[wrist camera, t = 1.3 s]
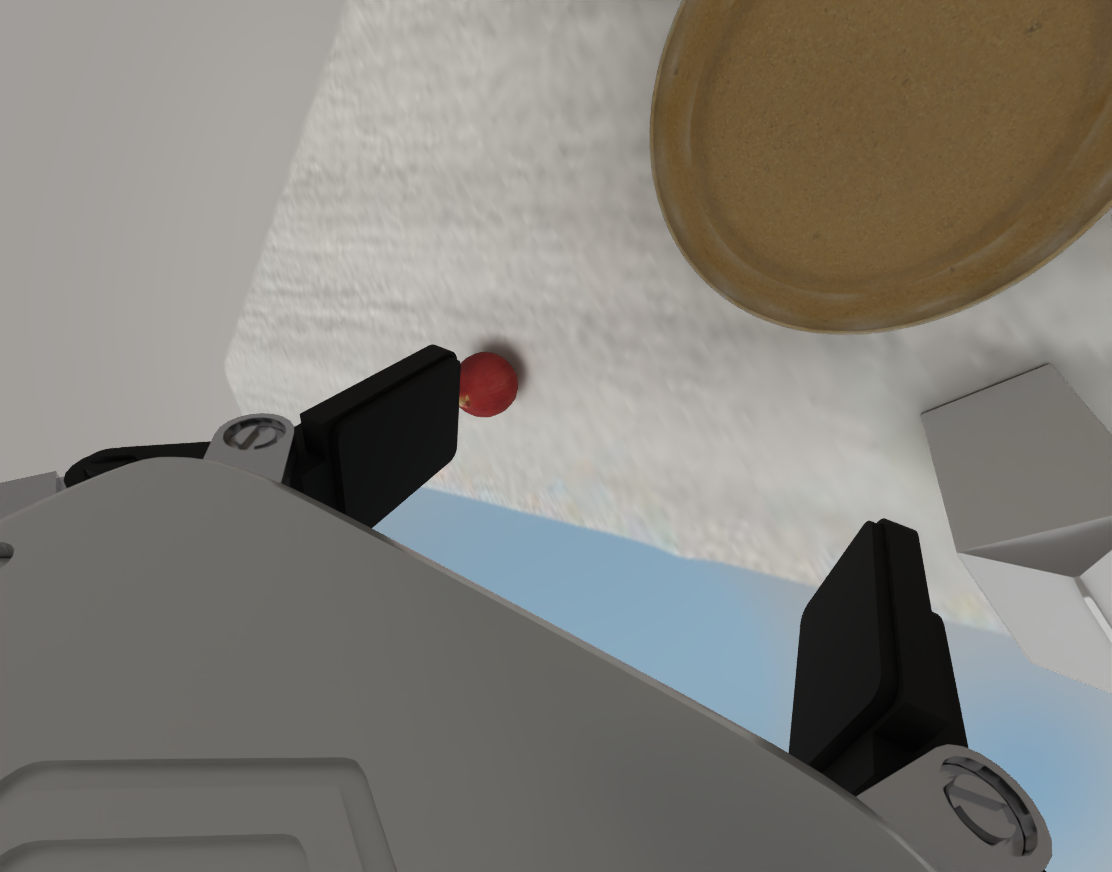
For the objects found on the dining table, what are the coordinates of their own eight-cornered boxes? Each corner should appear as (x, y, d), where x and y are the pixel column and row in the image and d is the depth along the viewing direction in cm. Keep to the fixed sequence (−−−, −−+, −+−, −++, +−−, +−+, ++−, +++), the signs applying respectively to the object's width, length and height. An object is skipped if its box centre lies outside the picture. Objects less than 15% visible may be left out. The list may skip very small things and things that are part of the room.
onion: (498, 403, 52) (451, 441, 46) (470, 352, 50) (418, 384, 44) (542, 387, 48) (498, 426, 42) (514, 332, 47) (464, 363, 41)
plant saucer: (1376, -97, 20) (1454, -129, 17) (912, 383, 35) (917, 403, 32) (809, -279, 24) (805, -327, 21) (609, 223, 39) (592, 230, 36)
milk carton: (970, 492, 36) (1056, 740, 22) (919, 412, 35) (971, 616, 21) (1104, 452, 32) (1326, 731, 17) (1049, 361, 31) (1233, 573, 16)
